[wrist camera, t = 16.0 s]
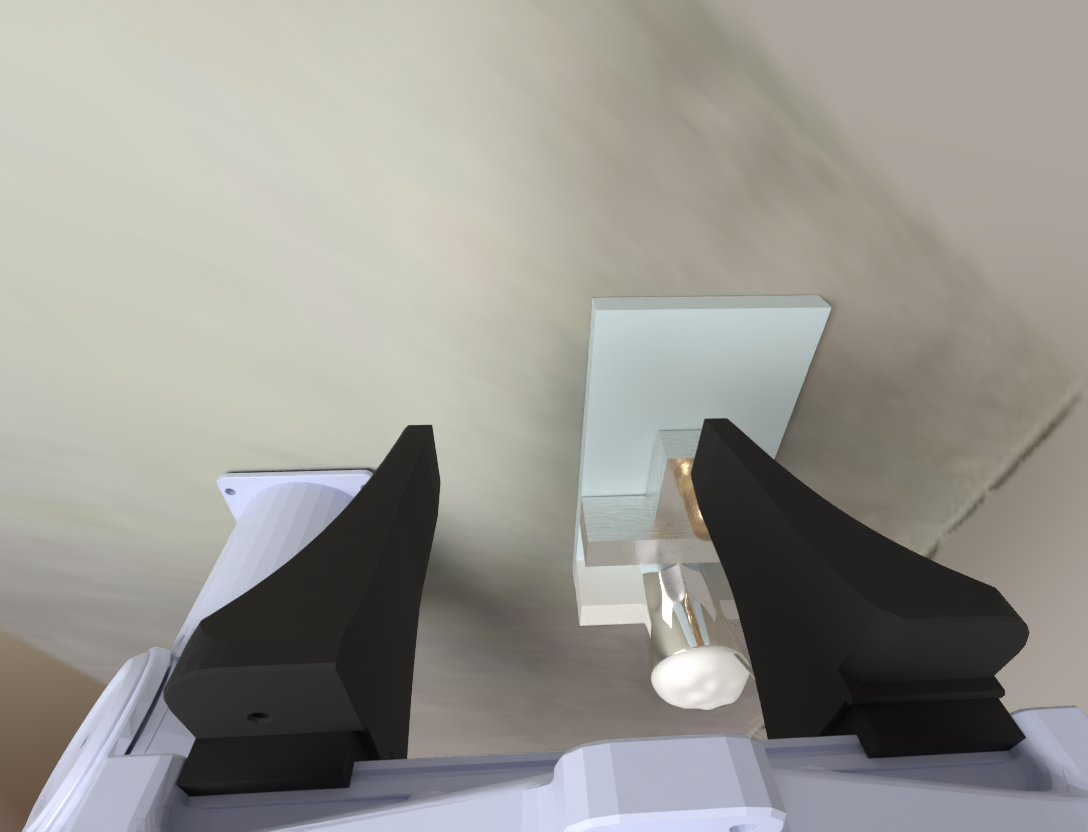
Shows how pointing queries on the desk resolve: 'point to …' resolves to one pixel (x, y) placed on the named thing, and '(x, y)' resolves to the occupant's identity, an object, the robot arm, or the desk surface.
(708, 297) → the pale blue stepped plate
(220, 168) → the desk surface
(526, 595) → the desk surface
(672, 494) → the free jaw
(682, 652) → the milkshake
